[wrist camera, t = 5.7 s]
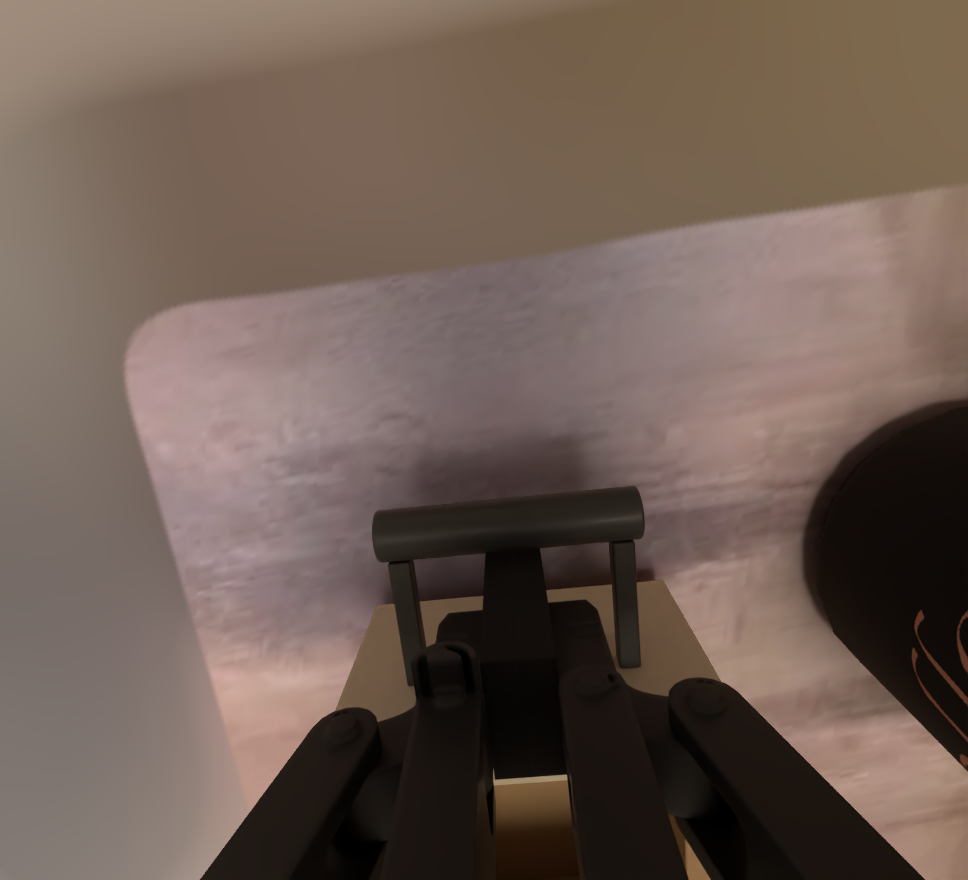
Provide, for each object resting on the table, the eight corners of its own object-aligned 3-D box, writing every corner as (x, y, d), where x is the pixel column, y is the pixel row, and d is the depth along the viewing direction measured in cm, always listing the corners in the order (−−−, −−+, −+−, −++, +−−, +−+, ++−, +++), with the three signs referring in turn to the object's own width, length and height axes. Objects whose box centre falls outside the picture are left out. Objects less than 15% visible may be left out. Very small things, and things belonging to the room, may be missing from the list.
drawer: (353, 469, 20) (273, 563, 13) (657, 438, 20) (746, 519, 12) (423, 873, 24) (391, 1112, 17) (674, 857, 24) (749, 1096, 17)
